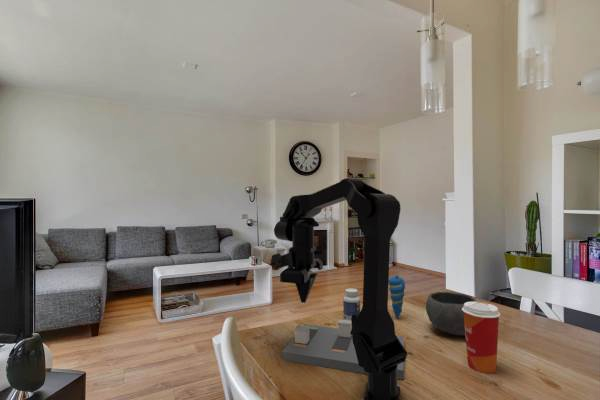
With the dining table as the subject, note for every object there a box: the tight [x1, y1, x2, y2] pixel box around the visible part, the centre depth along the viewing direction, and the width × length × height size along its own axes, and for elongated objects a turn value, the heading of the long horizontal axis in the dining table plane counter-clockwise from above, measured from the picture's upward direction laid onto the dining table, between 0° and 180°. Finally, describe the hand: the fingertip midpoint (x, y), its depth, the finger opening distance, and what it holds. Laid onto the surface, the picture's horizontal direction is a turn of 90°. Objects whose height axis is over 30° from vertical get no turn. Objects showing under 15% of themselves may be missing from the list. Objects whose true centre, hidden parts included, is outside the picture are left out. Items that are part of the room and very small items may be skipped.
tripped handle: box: [294, 324, 310, 344], centre depth 80 cm, size 2×3×4 cm
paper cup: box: [462, 301, 501, 374], centre depth 71 cm, size 8×8×14 cm
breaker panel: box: [281, 323, 405, 381], centre depth 79 cm, size 18×28×2 cm, turn 71°
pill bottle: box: [342, 288, 361, 321], centre depth 100 cm, size 5×5×10 cm
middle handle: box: [337, 319, 352, 338], centre depth 83 cm, size 2×3×4 cm
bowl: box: [425, 291, 479, 336], centre depth 91 cm, size 15×15×10 cm
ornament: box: [388, 273, 406, 319], centre depth 102 cm, size 5×5×15 cm
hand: (303, 302), depth 81 cm, fingers closed
